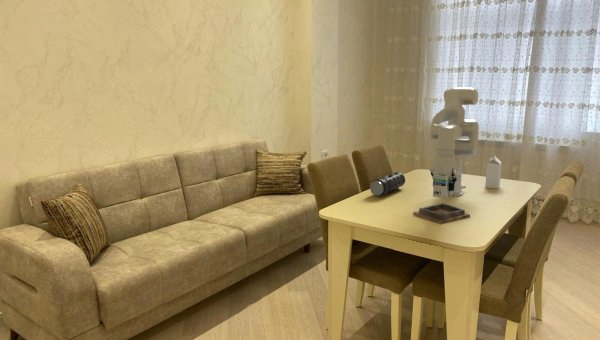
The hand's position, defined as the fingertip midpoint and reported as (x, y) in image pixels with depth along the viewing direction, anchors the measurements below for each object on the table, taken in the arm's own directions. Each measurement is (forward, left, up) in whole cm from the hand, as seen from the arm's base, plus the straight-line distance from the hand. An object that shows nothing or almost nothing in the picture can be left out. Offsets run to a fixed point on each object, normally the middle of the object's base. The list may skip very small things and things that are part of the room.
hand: (443, 188), depth 207 cm
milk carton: (-71, -23, -14) cm, 76 cm away
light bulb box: (0, 0, -4) cm, 4 cm away
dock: (0, 0, -14) cm, 14 cm away
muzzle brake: (-8, -47, -14) cm, 49 cm away
